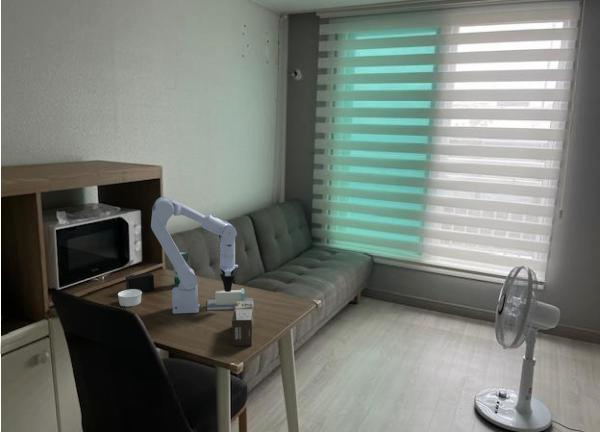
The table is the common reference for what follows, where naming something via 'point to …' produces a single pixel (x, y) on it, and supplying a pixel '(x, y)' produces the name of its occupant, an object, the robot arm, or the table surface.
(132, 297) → the ramekin
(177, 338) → the table surface
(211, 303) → the tool mat
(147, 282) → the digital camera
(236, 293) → the two-tone t-shaped block
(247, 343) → the coffee box
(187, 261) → the green electronic module
